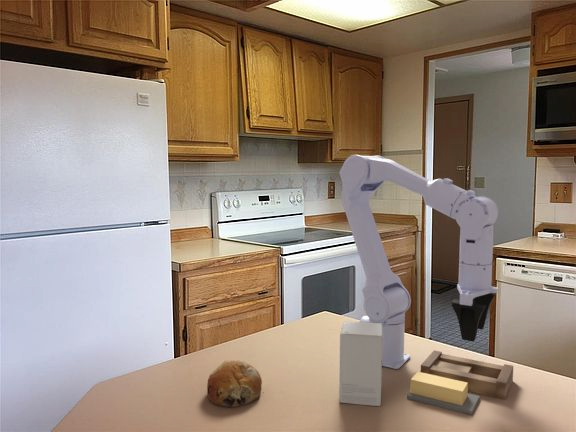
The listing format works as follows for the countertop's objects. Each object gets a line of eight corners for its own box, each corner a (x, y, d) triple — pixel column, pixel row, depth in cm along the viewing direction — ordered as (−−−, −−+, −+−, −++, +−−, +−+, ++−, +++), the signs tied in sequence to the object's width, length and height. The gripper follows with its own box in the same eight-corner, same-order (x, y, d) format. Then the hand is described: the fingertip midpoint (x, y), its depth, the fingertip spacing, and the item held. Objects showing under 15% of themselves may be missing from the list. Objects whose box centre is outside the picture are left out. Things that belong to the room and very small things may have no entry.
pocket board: (420, 380, 95) (420, 365, 94) (433, 364, 102) (433, 350, 102) (505, 399, 87) (506, 383, 86) (512, 380, 94) (513, 365, 94)
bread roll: (266, 410, 91) (272, 365, 93) (246, 411, 82) (253, 361, 84) (218, 402, 94) (225, 359, 96) (193, 402, 85) (202, 354, 87)
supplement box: (381, 407, 84) (382, 335, 83) (338, 403, 86) (338, 333, 84) (381, 388, 91) (382, 322, 90) (342, 384, 93) (342, 320, 92)
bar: (410, 392, 88) (410, 379, 88) (417, 384, 91) (417, 371, 91) (462, 405, 83) (462, 391, 83) (467, 396, 87) (467, 382, 86)
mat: (407, 398, 87) (407, 395, 87) (418, 384, 93) (418, 381, 93) (471, 414, 81) (471, 411, 81) (479, 399, 87) (479, 396, 87)
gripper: (491, 271, 82) (488, 350, 83) (505, 258, 94) (502, 326, 96) (448, 267, 86) (446, 342, 87) (467, 254, 98) (465, 320, 99)
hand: (473, 334), depth 92 cm, fingers open, 7 cm apart
